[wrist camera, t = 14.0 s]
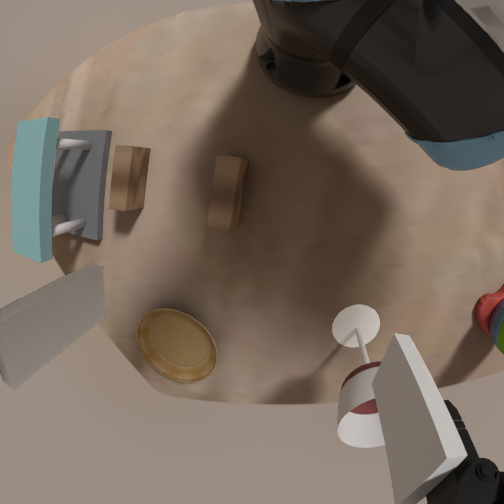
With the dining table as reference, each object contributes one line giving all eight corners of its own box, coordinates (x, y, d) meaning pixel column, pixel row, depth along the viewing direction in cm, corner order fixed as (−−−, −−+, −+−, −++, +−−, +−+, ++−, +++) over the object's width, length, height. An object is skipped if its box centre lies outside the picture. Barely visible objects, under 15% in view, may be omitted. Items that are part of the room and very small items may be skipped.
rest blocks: (134, 147, 40) (115, 145, 35) (248, 159, 38) (241, 157, 33) (127, 204, 42) (109, 208, 38) (238, 224, 40) (229, 231, 35)
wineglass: (384, 342, 41) (419, 435, 22) (331, 353, 43) (339, 453, 24) (381, 297, 39) (427, 383, 20) (324, 309, 41) (334, 405, 22)
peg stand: (64, 132, 41) (22, 129, 31) (111, 131, 40) (68, 125, 30) (57, 227, 46) (17, 239, 36) (102, 238, 45) (60, 254, 35)
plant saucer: (211, 299, 44) (206, 306, 42) (229, 375, 47) (226, 385, 45) (133, 303, 47) (125, 309, 45) (156, 372, 50) (150, 380, 48)
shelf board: (52, 258, 35) (41, 263, 33) (23, 247, 36) (13, 251, 34) (60, 118, 30) (47, 117, 27) (29, 122, 31) (18, 121, 28)
